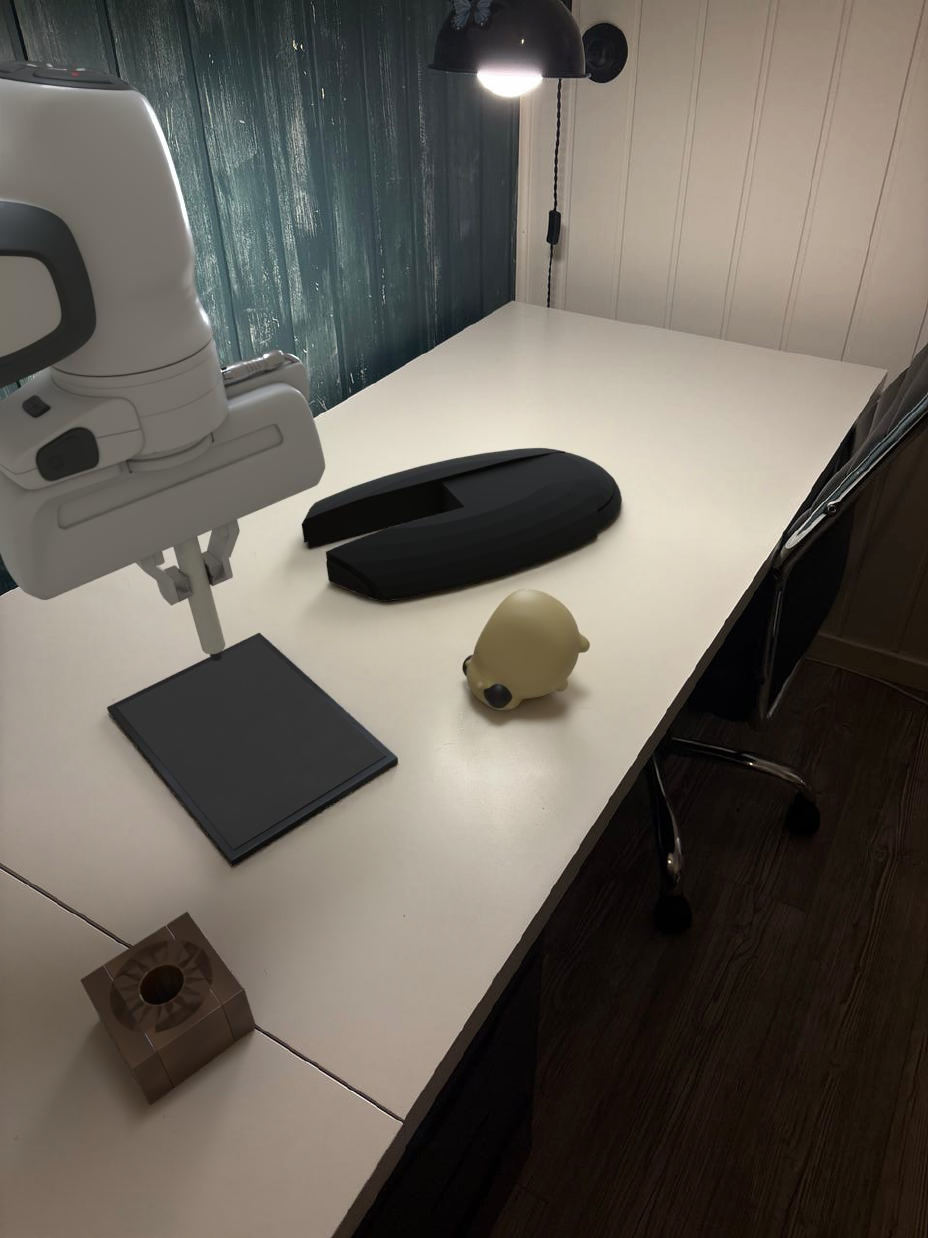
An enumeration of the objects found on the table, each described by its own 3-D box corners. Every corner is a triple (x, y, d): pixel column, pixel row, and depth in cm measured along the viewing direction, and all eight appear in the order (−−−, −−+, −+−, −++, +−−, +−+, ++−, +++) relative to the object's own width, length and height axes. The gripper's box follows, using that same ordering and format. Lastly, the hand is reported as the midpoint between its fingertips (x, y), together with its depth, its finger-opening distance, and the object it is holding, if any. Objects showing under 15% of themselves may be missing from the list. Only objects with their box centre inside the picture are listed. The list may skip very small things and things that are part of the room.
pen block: (150, 1106, 60) (131, 1069, 57) (99, 1017, 65) (79, 979, 62) (256, 1027, 64) (244, 989, 61) (201, 949, 69) (187, 910, 66)
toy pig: (500, 683, 96) (426, 650, 90) (571, 596, 93) (500, 554, 87) (541, 744, 89) (463, 712, 82) (620, 651, 86) (545, 610, 79)
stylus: (212, 668, 63) (163, 494, 55) (201, 657, 64) (151, 484, 55) (232, 658, 64) (187, 484, 55) (221, 647, 65) (175, 474, 56)
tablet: (232, 867, 74) (230, 860, 74) (108, 713, 89) (106, 706, 88) (398, 763, 83) (397, 756, 82) (260, 637, 97) (259, 631, 97)
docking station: (664, 528, 112) (669, 493, 109) (354, 624, 99) (349, 587, 96) (560, 444, 130) (561, 411, 127) (284, 515, 116) (279, 480, 113)
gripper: (274, 327, 59) (304, 510, 67) (-58, 432, 49) (28, 631, 57) (329, 355, 55) (354, 546, 64) (-19, 475, 45) (67, 682, 54)
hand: (197, 588), depth 60 cm, fingers closed on stylus, 1 cm apart
